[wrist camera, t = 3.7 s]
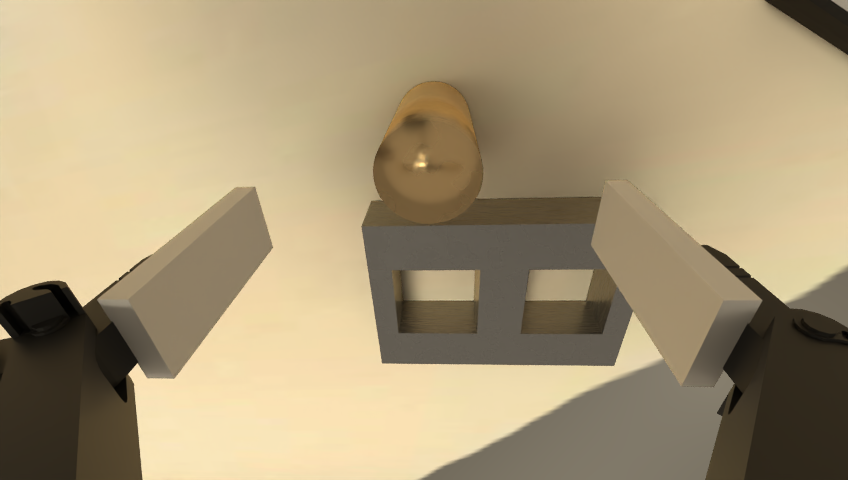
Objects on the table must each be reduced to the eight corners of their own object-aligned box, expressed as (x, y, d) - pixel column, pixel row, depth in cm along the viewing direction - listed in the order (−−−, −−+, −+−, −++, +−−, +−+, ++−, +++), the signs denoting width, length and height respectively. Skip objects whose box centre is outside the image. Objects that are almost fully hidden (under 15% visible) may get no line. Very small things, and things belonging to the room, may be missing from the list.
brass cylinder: (399, 156, 27) (379, 224, 18) (394, 82, 24) (366, 121, 16) (469, 155, 26) (480, 223, 18) (470, 79, 24) (485, 118, 15)
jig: (388, 330, 36) (382, 363, 33) (371, 201, 29) (361, 226, 25) (597, 331, 35) (614, 365, 31) (636, 196, 27) (663, 222, 24)
